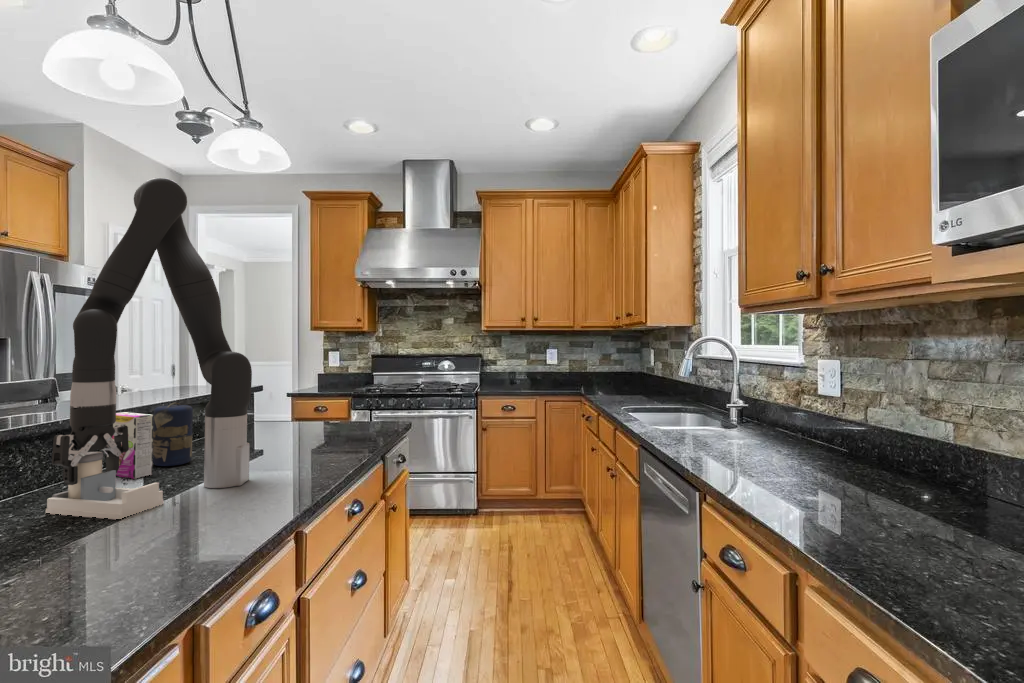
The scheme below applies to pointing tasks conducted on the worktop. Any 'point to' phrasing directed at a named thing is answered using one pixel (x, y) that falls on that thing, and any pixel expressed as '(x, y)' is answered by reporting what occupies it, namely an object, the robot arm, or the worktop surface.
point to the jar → (86, 471)
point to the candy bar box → (136, 445)
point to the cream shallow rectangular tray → (108, 503)
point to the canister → (172, 435)
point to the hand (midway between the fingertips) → (92, 478)
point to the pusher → (99, 486)
